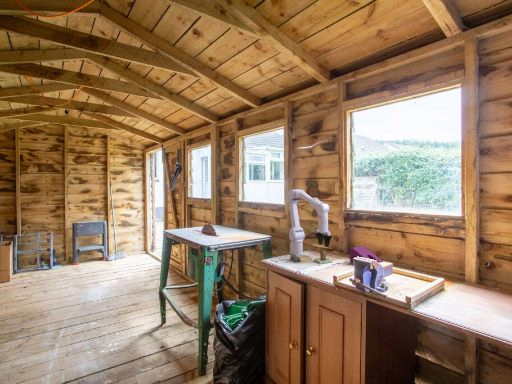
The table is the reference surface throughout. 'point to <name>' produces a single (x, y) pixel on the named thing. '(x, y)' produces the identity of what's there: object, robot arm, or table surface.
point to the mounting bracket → (362, 254)
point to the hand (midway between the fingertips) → (323, 245)
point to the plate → (305, 258)
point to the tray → (322, 261)
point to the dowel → (322, 255)
